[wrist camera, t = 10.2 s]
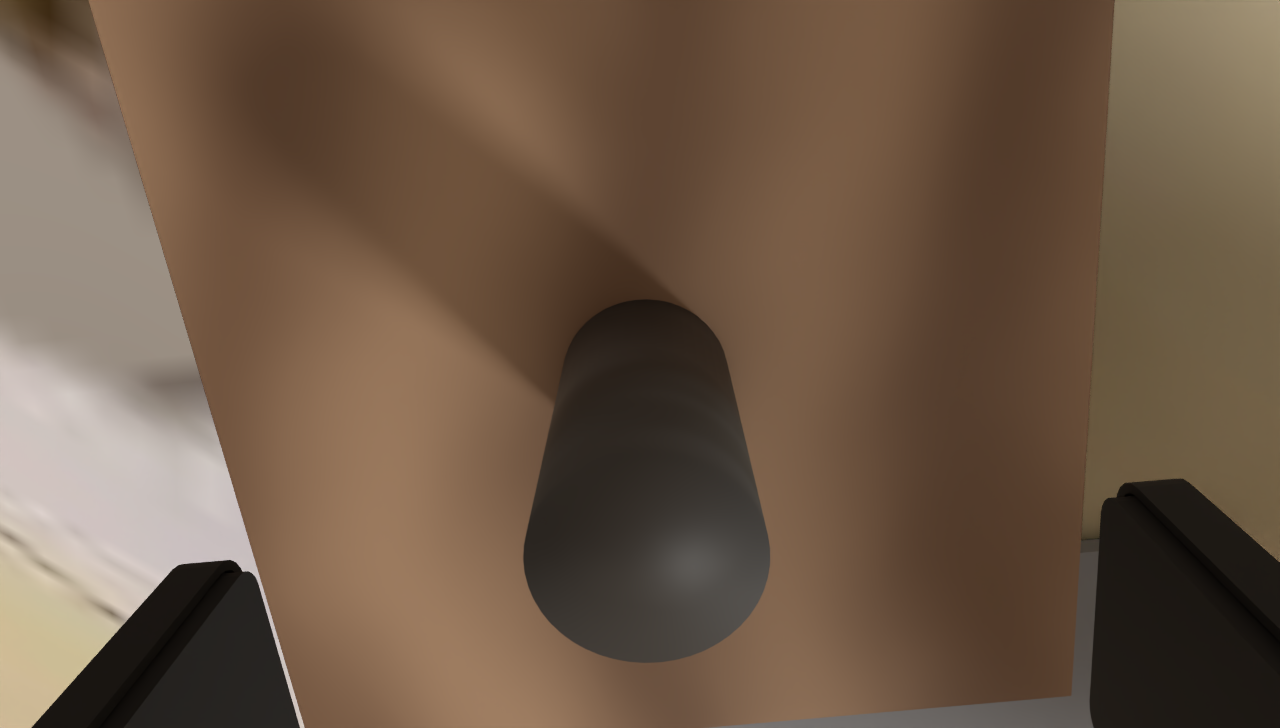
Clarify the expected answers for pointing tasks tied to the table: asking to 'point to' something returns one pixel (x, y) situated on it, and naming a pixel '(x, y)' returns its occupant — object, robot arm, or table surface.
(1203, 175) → the table surface
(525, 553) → the lid
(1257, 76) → the table surface
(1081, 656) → the mat
